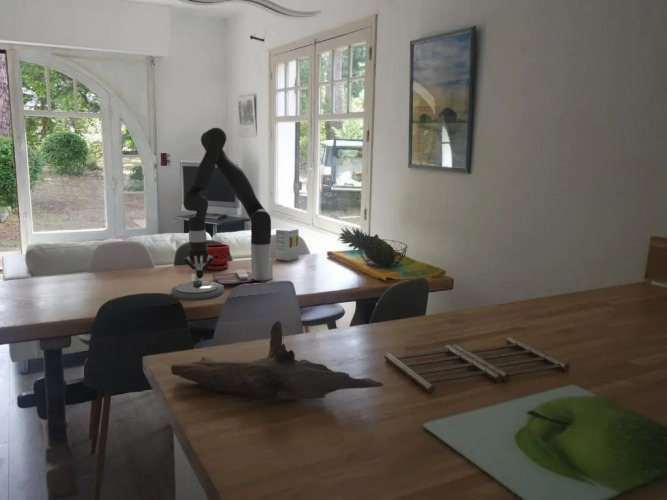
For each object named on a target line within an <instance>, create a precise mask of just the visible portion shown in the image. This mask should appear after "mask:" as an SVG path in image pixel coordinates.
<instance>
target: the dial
mask: <svg viewBox="0 0 667 500" xmlns="http://www.w3.org/2000/svg"><path fill="white" fill-rule="evenodd" d="M190 276H191V278H190V279H191V281H186V282H182V283H179V284H177V285H175V286H176V290H177V291H178V292H181V293H188V294H198V293H207V292H212V291H215V290H217V289H218V288H219V284H220V283H217V282H215V281H211V280H200V279H199V278H198V277H197V274H195V273H191V274H190Z"/></svg>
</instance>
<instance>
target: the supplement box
mask: <svg viewBox="0 0 667 500" xmlns="http://www.w3.org/2000/svg"><path fill="white" fill-rule="evenodd" d="M275 259H276V260H280V261H287V262H290V261H294V260H297V259H299V229H298V228H292V227H291V228H290V227H283V228H278V229H275Z"/></svg>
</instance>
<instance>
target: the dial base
mask: <svg viewBox="0 0 667 500" xmlns="http://www.w3.org/2000/svg"><path fill="white" fill-rule="evenodd" d="M218 284H219V288H218V289H217V290H215V291H212V292H207V293H198V294H188V293H181V292H178V291H177V290H176V286H177V285H175V286H174V287H172V288H171V296H172V295H173V296H175V297H176V298H175V297H174V298H175V299H179V300H186V301H188V300H189V301H197V300H209V299H212V298H217V297H220V296H222V295H223V294H224V292H225V291H224V290H225V289H224V287H225V285H222V284H220V283H218ZM173 296H172V297H173Z"/></svg>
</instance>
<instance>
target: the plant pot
mask: <svg viewBox="0 0 667 500" xmlns="http://www.w3.org/2000/svg"><path fill="white" fill-rule="evenodd" d="M230 248H231V247H230V245H229V244H225V243H213V244H207V252H208V255H209V256H211V257H213V260H212V261H211V263H210V264H209V265H208V267H207V268H206V269H207V270H208V269H209V270H215V271H216V270H217V271H219V270H225V269H227V268H229V265H230V264H229V263H228V262H229V259H230V251H231V250H230ZM207 259H208V257H207V258H206V260H205V262H206V263H207V261H208V260H207Z"/></svg>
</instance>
